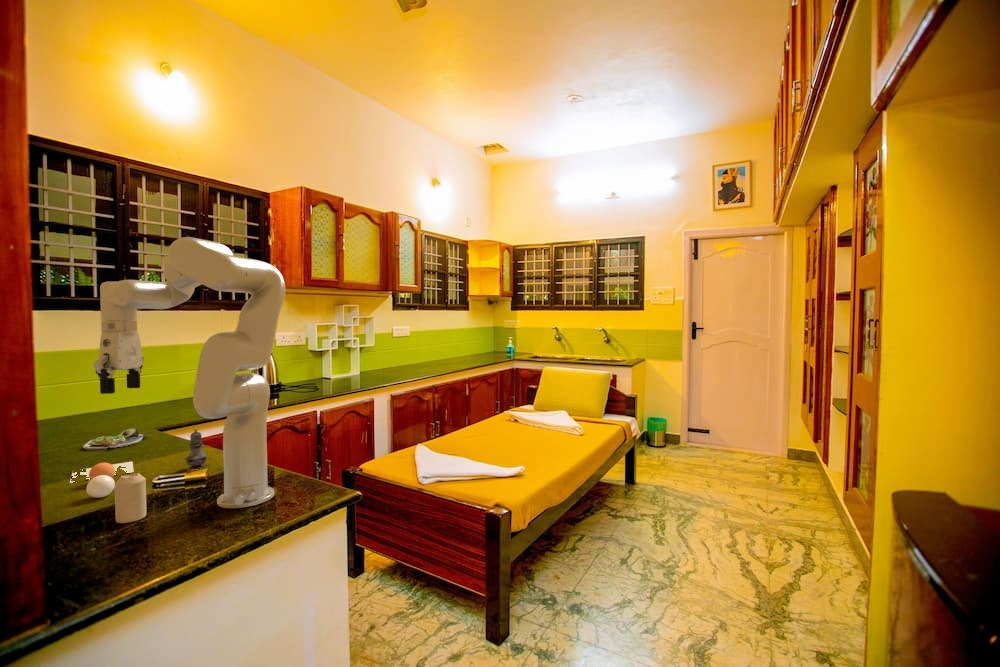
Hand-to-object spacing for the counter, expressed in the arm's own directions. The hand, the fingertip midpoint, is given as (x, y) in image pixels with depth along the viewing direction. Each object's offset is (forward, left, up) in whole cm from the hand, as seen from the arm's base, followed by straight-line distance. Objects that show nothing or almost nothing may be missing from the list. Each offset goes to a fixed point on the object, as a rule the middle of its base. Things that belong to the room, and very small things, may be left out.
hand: (121, 390), depth 125 cm
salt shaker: (+9, -16, -26) cm, 32 cm away
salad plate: (+59, +14, -27) cm, 66 cm away
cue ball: (-7, +3, -23) cm, 25 cm away
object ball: (+6, +6, -23) cm, 25 cm away
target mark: (+18, +9, -26) cm, 33 cm away
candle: (-27, -7, -26) cm, 39 cm away
